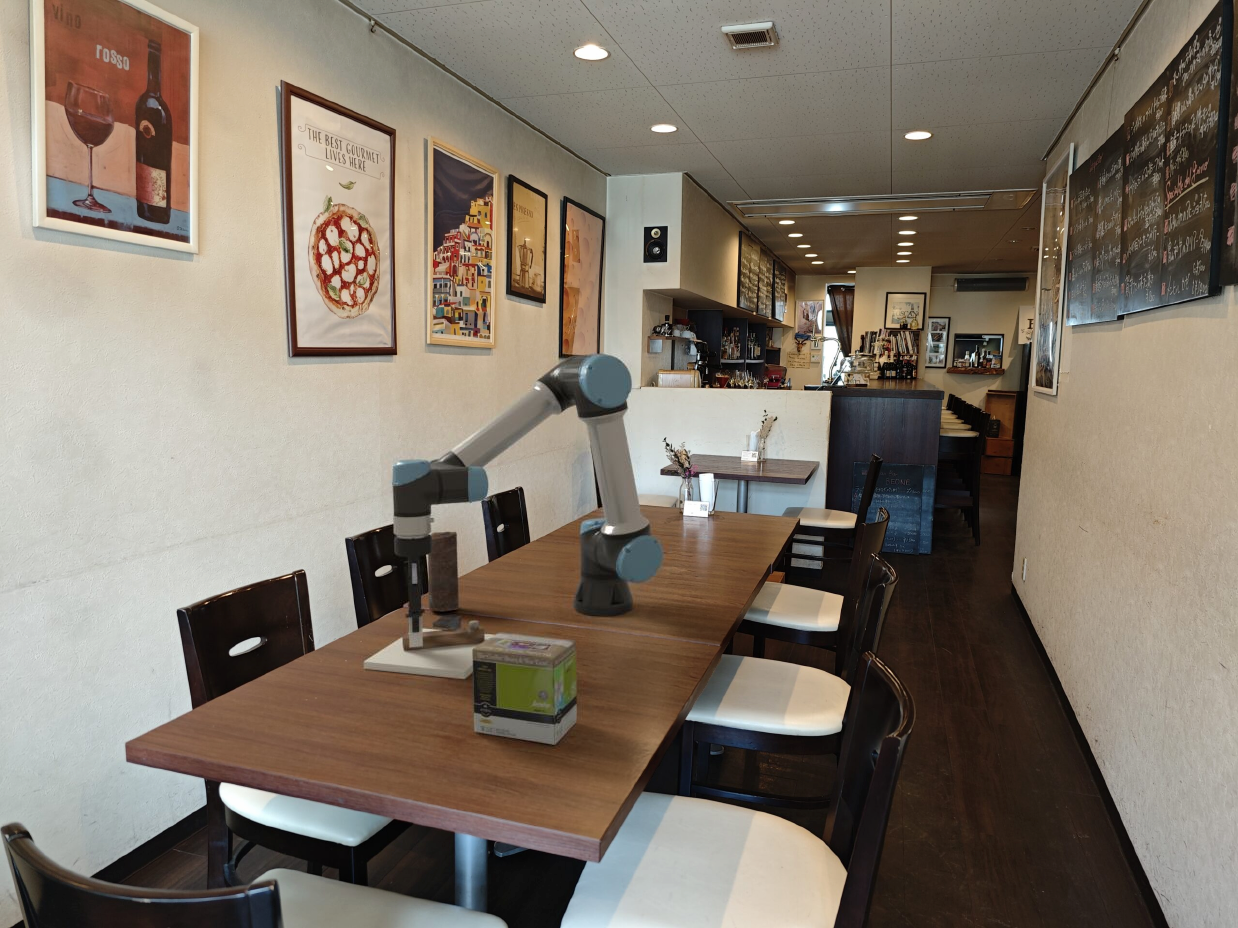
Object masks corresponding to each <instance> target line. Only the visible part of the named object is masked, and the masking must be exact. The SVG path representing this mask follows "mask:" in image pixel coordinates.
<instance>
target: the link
mask: <svg viewBox="0 0 1238 928" xmlns="http://www.w3.org/2000/svg"><path fill="white" fill-rule="evenodd" d="M468 624H469V626H467V627H461V628H459V629H449V630H442V629H438V630H439V631H430V632H422V633H423V646H420V647H409V634H408V633H403V634H402V635H401V636H402V642H403V649H404V650H411V649H420V648H429V647H438V646H448V645H457V644H466V643H470V644H476V643H481V642H483V641H484V640H485V634H486V633H485V627H483V626H481V625H479V624H480V623H479V620H471V621H469V623H468Z"/></svg>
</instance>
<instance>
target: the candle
mask: <svg viewBox="0 0 1238 928" xmlns="http://www.w3.org/2000/svg"><path fill="white" fill-rule="evenodd" d="M430 535H431V536H432V552H431V553H430V554H427V565H428V566H427V569H428V589H427V590H428V608H429V610H430V611H434V612H439V613H440V612H449V611H456V610H459V603H460V602H459V571H458V539H457V538H458V534H457V532H456V531H443V532H441V531H439V532H437V531H435V532H431V534H430Z"/></svg>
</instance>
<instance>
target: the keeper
mask: <svg viewBox="0 0 1238 928" xmlns="http://www.w3.org/2000/svg"><path fill="white" fill-rule="evenodd" d="M432 628H435V629H436V628H437V629H441V630H449V629H459V628H462V616H459V615H450V614H449V615H448V614H444V615H442V616H441V617H439V618H438V619H436V620H435V621H433V622H432Z"/></svg>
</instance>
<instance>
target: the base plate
mask: <svg viewBox="0 0 1238 928" xmlns="http://www.w3.org/2000/svg"><path fill="white" fill-rule="evenodd" d="M439 630H440V629H435V628H434V629H432V628H423V627H422V632H430V631H439ZM407 634H409V632H408V633H407ZM484 634H485V640H484V641H486V640H488V639H489V638H491V637H492V636H494V635H495V634H490V633H489V634H488V633H484ZM484 641H483V642H484ZM483 642H481V643H483ZM481 643H476V644H470V643H466V644H457V645H448V646H438V647H429V648H420V649H411V650H404V649H403V642H402V637H399V638H398V639H397V640H395V641H394V642H392V643H390V644H389V645H387V646H386V647H383V649H381V650H380V651H378V652H376V653H375V654H373V655H372V656H370V657H369V658H367V659H365V660H364V661H363V669H364V670H372V671H381V672H391V673H393V672H394V673H401V674H410V675H421V676H429V677H442V678H450V679H460V680H466V679H467V678H468V677H469V676H470V675H471V674H473V656H472V649H473V648H475V647H477V646H478V645H480V644H481Z"/></svg>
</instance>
